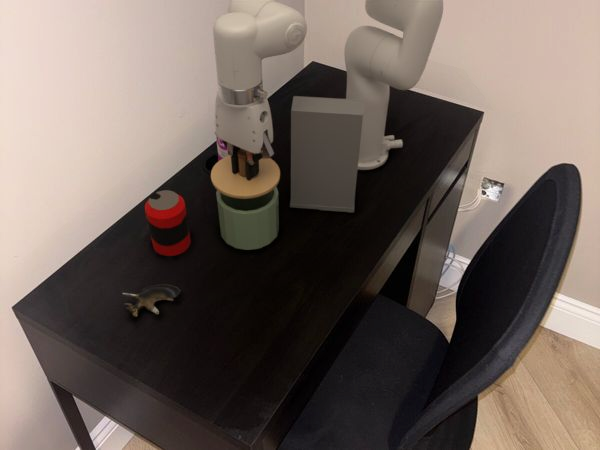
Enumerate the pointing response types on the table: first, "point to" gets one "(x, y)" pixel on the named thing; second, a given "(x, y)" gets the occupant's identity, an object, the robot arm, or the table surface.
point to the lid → (244, 177)
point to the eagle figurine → (151, 297)
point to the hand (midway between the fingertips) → (245, 172)
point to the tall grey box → (325, 152)
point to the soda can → (168, 223)
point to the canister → (249, 220)
